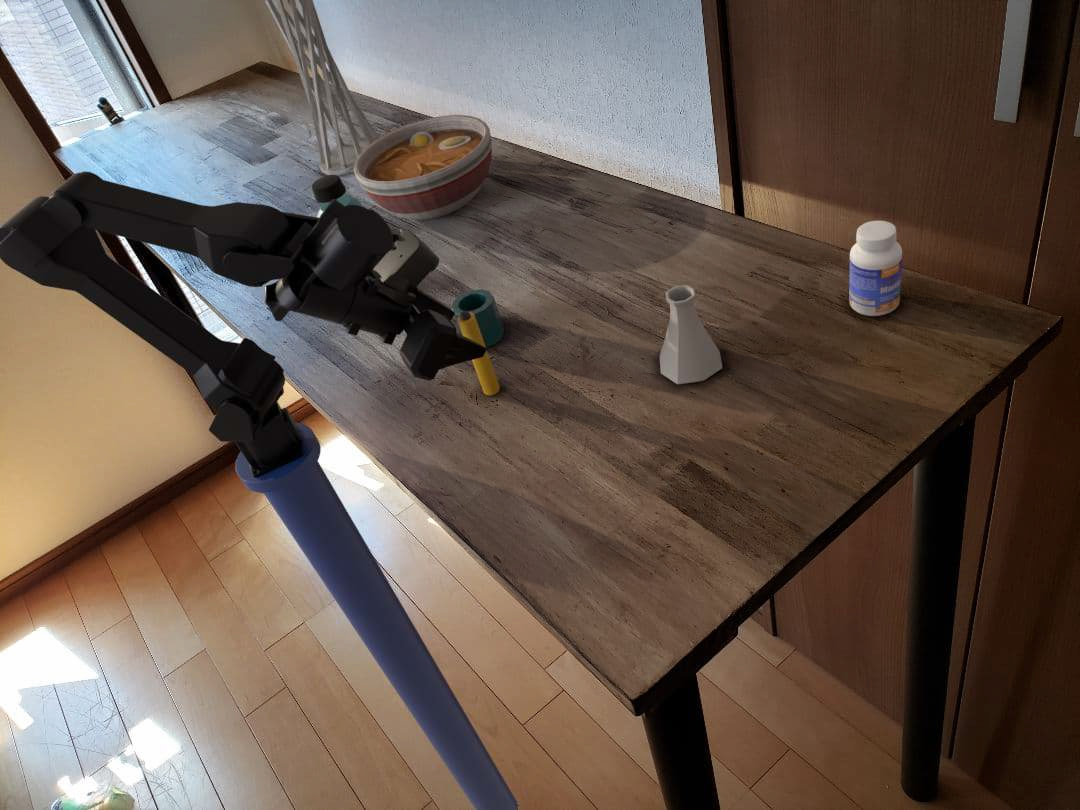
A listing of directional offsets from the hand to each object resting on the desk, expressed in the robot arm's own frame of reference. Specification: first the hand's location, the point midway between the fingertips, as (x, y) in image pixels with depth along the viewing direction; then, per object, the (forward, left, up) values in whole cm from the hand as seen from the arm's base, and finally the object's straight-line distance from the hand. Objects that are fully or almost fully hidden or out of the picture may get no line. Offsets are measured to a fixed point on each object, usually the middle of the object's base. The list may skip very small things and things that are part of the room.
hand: (468, 333), depth 95 cm
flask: (+21, -11, -9) cm, 26 cm away
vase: (+2, +84, -9) cm, 84 cm away
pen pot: (+3, +11, -9) cm, 14 cm away
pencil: (0, 0, -9) cm, 9 cm away
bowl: (+10, +52, -9) cm, 54 cm away
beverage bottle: (-7, +29, -9) cm, 31 cm away
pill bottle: (+43, -15, -9) cm, 47 cm away
